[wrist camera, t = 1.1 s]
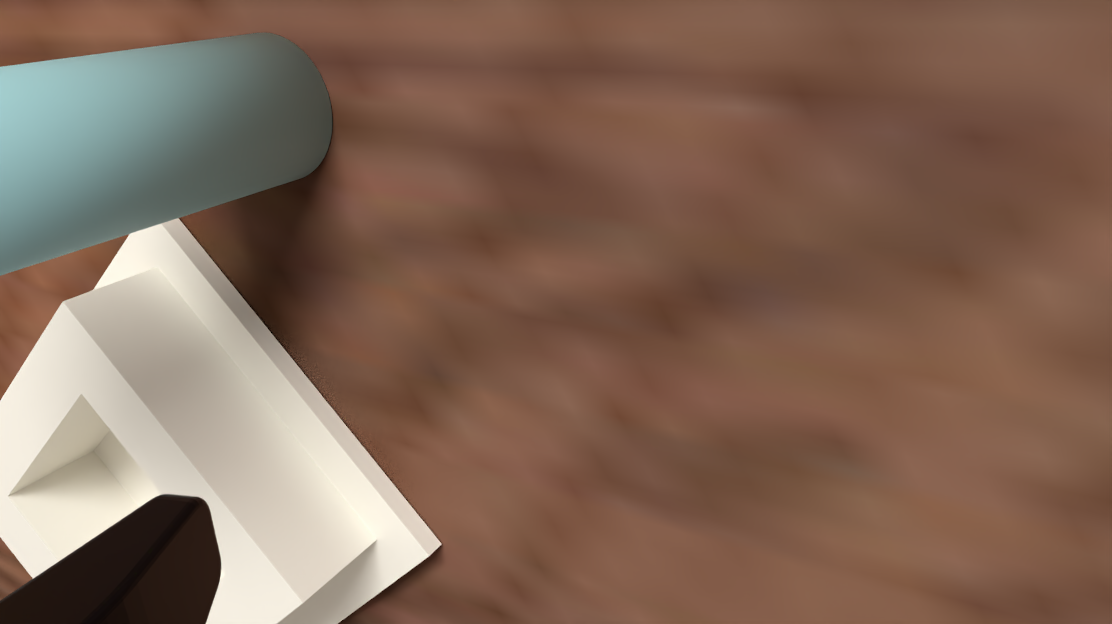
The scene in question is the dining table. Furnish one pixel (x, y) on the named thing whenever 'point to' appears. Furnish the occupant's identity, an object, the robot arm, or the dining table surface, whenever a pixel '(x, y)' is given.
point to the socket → (197, 442)
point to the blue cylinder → (150, 138)
